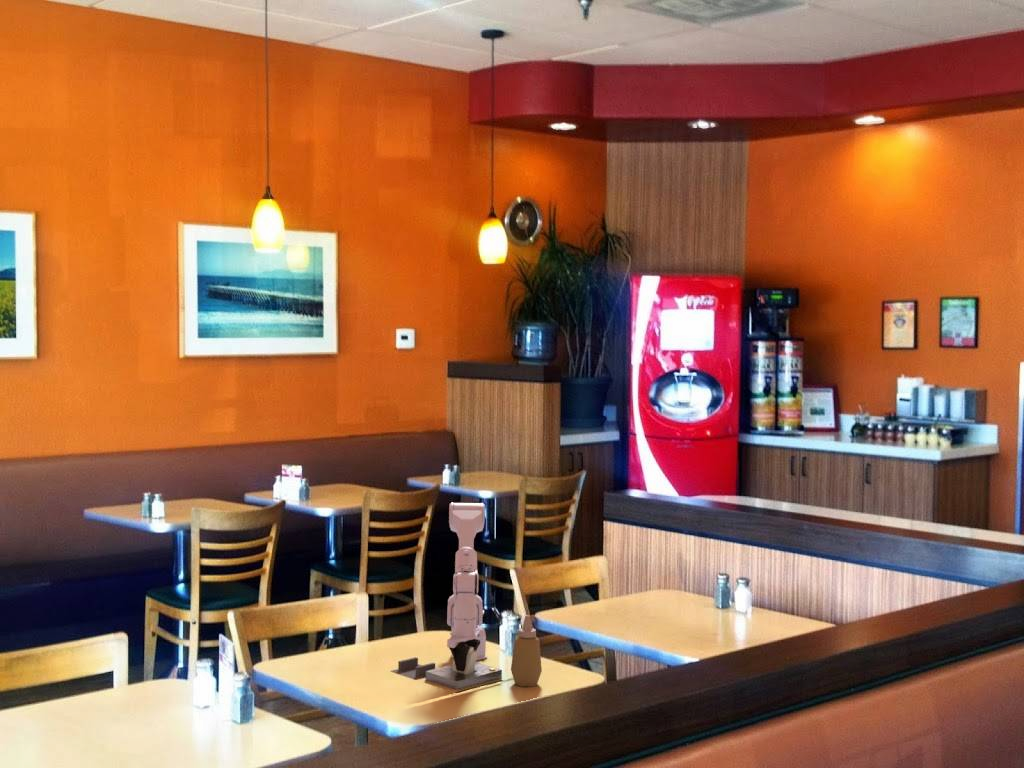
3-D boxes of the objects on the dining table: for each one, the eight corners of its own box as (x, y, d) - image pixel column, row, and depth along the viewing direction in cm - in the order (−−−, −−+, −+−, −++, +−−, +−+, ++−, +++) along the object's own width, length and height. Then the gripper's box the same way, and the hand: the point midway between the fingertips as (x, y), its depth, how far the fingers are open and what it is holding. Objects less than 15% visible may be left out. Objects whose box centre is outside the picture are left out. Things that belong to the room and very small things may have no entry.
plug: (457, 667, 333) (461, 642, 332) (473, 673, 330) (477, 648, 330) (451, 669, 330) (455, 644, 329) (467, 675, 328) (472, 650, 327)
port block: (470, 671, 340) (470, 659, 340) (501, 681, 332) (501, 668, 331) (425, 682, 329) (425, 670, 329) (456, 693, 320) (457, 680, 320)
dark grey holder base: (418, 667, 343) (418, 655, 343) (443, 675, 336) (443, 662, 336) (390, 674, 336) (390, 661, 336) (414, 682, 329) (414, 669, 329)
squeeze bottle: (542, 680, 333) (544, 612, 332) (540, 689, 325) (541, 620, 324) (512, 678, 334) (513, 611, 333) (508, 687, 326) (510, 618, 325)
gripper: (465, 610, 338) (464, 660, 338) (437, 621, 325) (436, 673, 325) (488, 613, 334) (487, 664, 335) (461, 624, 321) (460, 677, 322)
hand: (464, 668), depth 330 cm, fingers closed on plug, 3 cm apart
